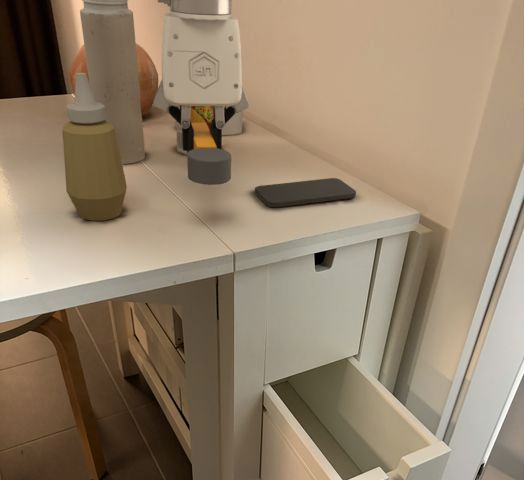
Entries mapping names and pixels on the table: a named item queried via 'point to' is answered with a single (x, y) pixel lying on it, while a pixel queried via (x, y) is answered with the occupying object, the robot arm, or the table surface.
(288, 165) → the table surface
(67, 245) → the table surface
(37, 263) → the table surface
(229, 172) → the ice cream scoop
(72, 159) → the squeeze bottle
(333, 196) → the phone
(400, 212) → the table surface
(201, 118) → the canned food
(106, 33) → the thermos bottle
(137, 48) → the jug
